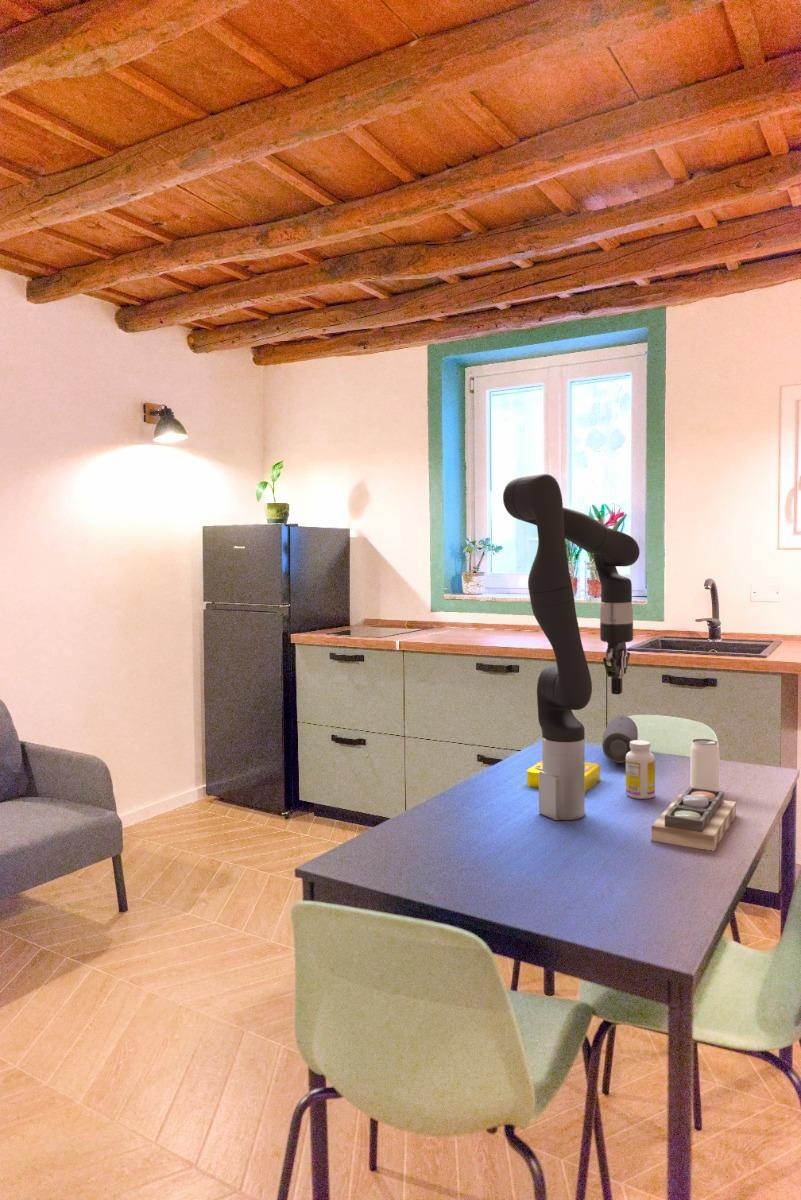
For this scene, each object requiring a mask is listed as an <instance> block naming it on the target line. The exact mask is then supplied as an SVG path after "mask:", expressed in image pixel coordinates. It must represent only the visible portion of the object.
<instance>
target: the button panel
mask: <svg viewBox="0 0 801 1200" xmlns="http://www.w3.org/2000/svg"><path fill="white" fill-rule="evenodd" d="M696 791H703V792H709V793H713V794H714V795H715V799H710V798H708V809H703V808H696V807H689V806H683V797H684V796H686V795H691V793H692V792H696ZM724 793H725V792H724V791H722V790H719V791H716V790H708V789H701V788H694V787H690V786H689V788H687V789H686V791H684V793H683V794H682V793H679V794H678V795H677V796H676V798H674V799H673V801H672V802H671V803H670V804H669V805H668V807H667V808H665V809H664V811H663V812H662V813H661V814H660V815H659V817H657V819H656V820H655V821H654V822H653V824H651V827H650V828H651V830H650V831H651V833H650V834H651V836H650V837H651V838H650V839H651V841H653V842H658V843H665V844H666V843H667V844H671V845H677V846H683V847H688V848H695V849H700V850H705V849H706V851H710V850H712V852H714V851H715V850H716V848H717V847H718V845H719V843H720V842H721V841H722V839H723V837H724V835H725V834H726V832H727V831H728V830H729V828H730V826H731V824H732V822H733V821H734V819H735V818H736V816H737V802H736V801H732V800H725V799H724V798H725V797H724V795H725V794H724ZM677 811H692V812H696V813H698V814H700V816H701V817H700V820H697V819H690V818H684V817H677V816H674V813H675V812H677Z"/></svg>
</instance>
